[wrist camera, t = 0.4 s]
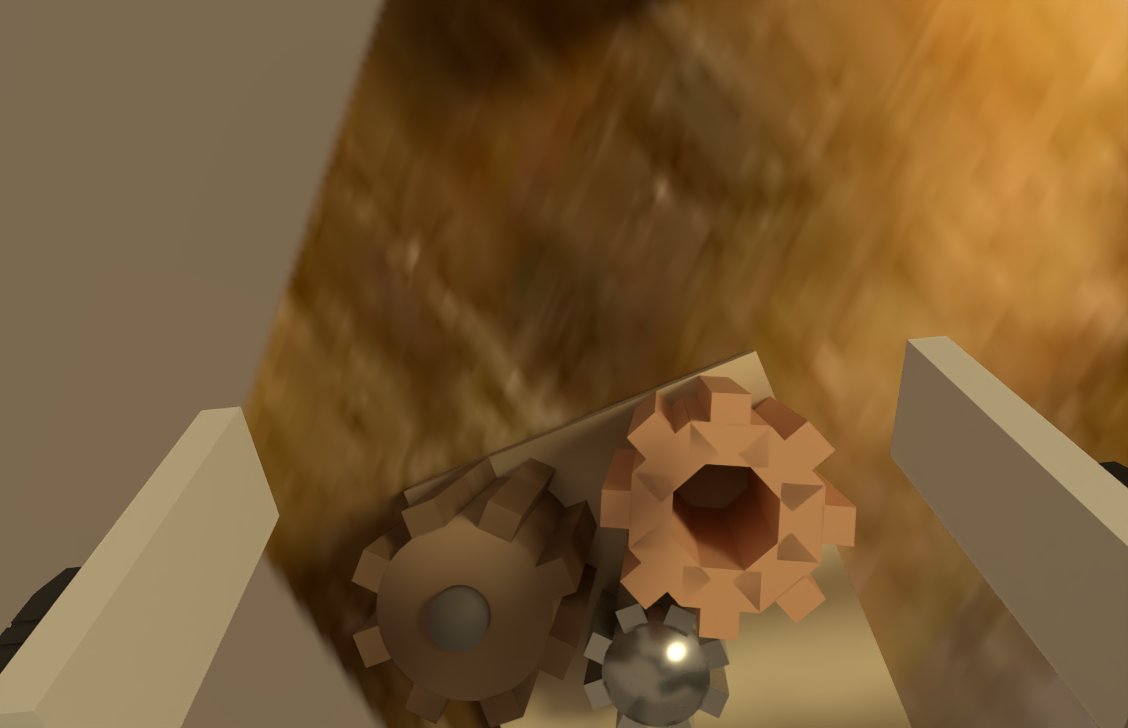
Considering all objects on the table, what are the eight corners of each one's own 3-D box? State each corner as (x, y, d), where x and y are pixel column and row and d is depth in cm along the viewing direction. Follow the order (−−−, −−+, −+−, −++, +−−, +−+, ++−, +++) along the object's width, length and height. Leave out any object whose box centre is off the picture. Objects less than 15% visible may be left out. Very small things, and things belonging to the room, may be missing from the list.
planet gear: (845, 477, 27) (910, 531, 20) (701, 596, 28) (715, 688, 21) (715, 337, 27) (734, 341, 20) (578, 460, 28) (551, 504, 21)
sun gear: (739, 663, 28) (753, 720, 24) (622, 702, 28) (615, 764, 24) (690, 545, 28) (696, 582, 24) (574, 588, 28) (560, 631, 24)
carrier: (914, 746, 28) (990, 870, 22) (568, 852, 30) (543, 993, 24) (750, 349, 28) (777, 356, 22) (416, 483, 30) (350, 526, 24)
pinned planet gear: (626, 596, 28) (614, 696, 20) (464, 654, 29) (396, 769, 21) (557, 429, 28) (519, 467, 20) (397, 492, 29) (305, 551, 21)
